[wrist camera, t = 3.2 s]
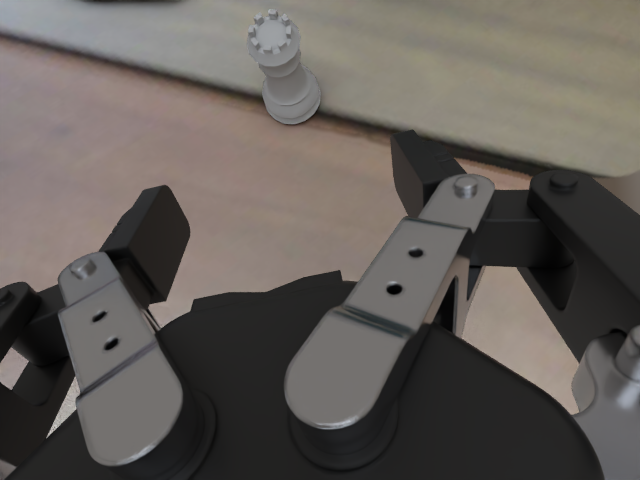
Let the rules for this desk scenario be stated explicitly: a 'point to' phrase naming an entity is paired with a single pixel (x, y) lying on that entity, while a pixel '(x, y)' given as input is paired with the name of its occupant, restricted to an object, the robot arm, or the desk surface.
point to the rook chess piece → (283, 69)
